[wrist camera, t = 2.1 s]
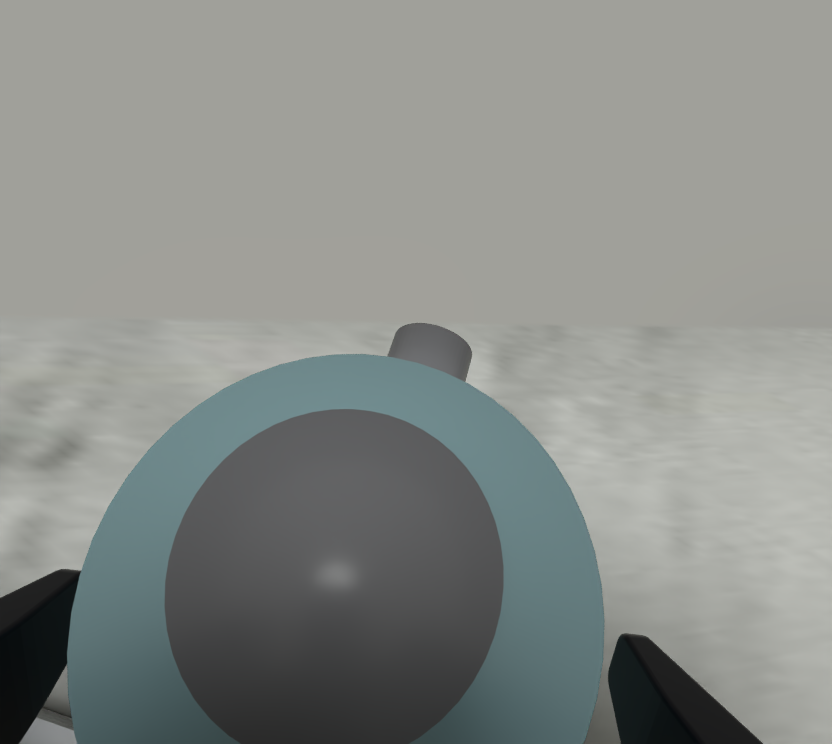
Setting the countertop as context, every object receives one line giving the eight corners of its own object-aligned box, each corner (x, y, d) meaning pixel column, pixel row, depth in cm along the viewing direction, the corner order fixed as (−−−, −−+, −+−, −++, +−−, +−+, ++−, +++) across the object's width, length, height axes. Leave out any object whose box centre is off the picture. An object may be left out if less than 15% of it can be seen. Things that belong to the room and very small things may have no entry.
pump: (461, 821, 14) (834, 1620, 3) (185, 728, 15) (-521, 1041, 3) (518, 507, 18) (764, 272, 7) (302, 443, 19) (181, 124, 7)
